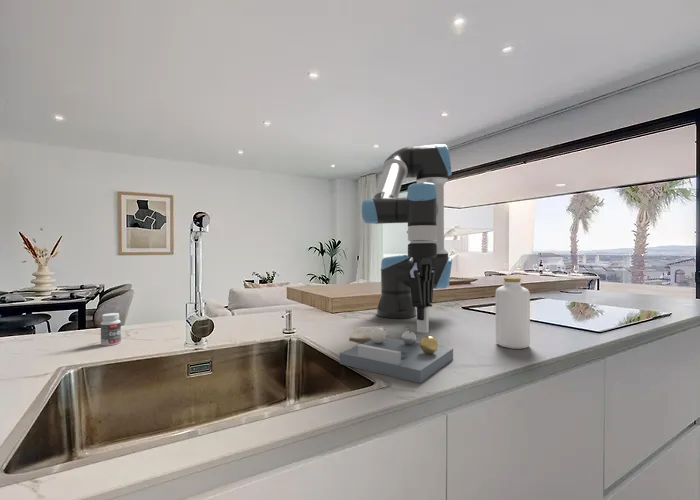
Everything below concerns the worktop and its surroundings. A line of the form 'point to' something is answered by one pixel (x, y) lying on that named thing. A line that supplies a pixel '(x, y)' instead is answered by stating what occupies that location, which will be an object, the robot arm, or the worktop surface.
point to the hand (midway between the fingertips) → (422, 331)
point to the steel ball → (408, 337)
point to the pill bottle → (110, 329)
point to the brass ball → (429, 345)
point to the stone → (362, 334)
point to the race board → (396, 359)
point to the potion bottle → (513, 314)
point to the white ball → (378, 335)
